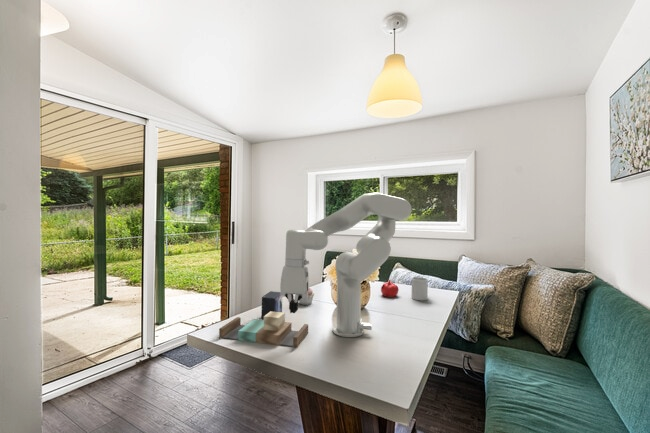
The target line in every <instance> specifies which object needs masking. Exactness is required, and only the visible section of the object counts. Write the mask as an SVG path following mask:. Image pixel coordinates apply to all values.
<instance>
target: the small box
mask: <svg viewBox="0 0 650 433" xmlns="http://www.w3.org/2000/svg"><path fill="white" fill-rule="evenodd" d="M280 292H281V291H272V290H270V291H269V292H267V293H265V295H264V294H263V296H261V316H260V317H261V319H260V320H264V316H265V315H266V314H268V313H269V312H270V311H272V312H283V296H282V295H280Z"/></svg>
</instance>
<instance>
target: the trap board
mask: <svg viewBox="0 0 650 433" xmlns="http://www.w3.org/2000/svg"><path fill="white" fill-rule="evenodd" d="M241 323H242V321H241V317H239V316H236V317H235V318H234V319H232V320H231V321H229V322H228V323H225V324H224V325H223V326H221V327H219V329H218V338H219V339H225V340H233V341H242V342H248V343H249V342H250V343H257V344H265V345H275V346H283V347H290V348H298V347H300V345H301V343H302V342H303V341H304V339H305V338H306V337H307V335H308V334H309V324H306V323H304V324H303V326H301V328H300V329H299V330H292V322H288V321H285V326H284V327H283V328H282V329H281V330H280V331H271V330H264V320H261V319H260V318H259V319H258V318H254V319H253V320H251V321H250V322H248V323H247V324H246V325H245V324H241Z"/></svg>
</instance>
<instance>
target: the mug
mask: <svg viewBox="0 0 650 433" xmlns="http://www.w3.org/2000/svg"><path fill="white" fill-rule="evenodd" d="M428 283H429V282H428V278H424V277H419V276H417V277H412V278H411V299H412V300H414V299H415V301H418V300H425V301H428V293H429V292H428V291H429V290H428Z"/></svg>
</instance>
